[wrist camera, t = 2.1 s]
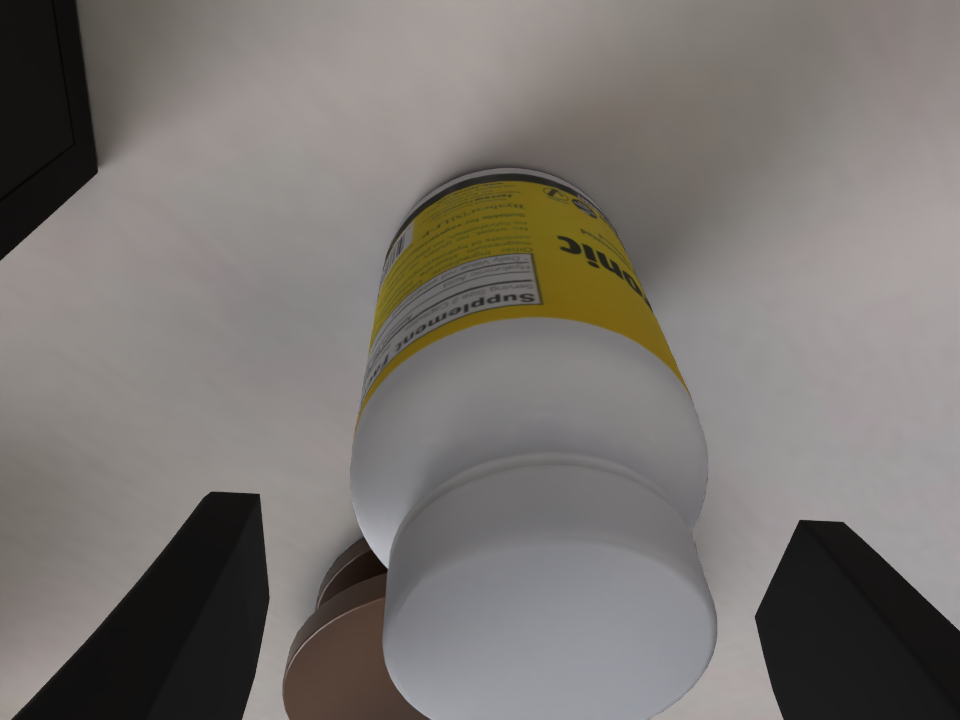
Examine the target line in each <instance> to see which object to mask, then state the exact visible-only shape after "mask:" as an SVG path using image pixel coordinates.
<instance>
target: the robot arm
mask: <svg viewBox="0 0 960 720" xmlns="http://www.w3.org/2000/svg"><path fill="white" fill-rule="evenodd" d="M269 599H270V597H269V586H268V576H267V565H266V555H265V544H264V534H263V523H262V513H261V502H260V494H251V493H231V492H210V493H209V494H208V495H206V496H205V497H204V498H203V499H202V500H201V502H200V503H199V504H198V506H197V507H196V508H195V510H194V511H193V512H192V514H191V515H190V516H189V518H188V519H187V520H186V522H185V523H184V524H183V525H182V527H181V528H180V529H179V531H178V532H177V533H176V535H175V536H174V537H173V538H172V540H171V541H170V542H169V544H168V545H167V546H166V547H165V549H164V550H163V551H162V552H161V554H160V555H159V556H158V557H157V559H156V560H155V561H154V562H153V563H152V565H151V566H150V567H149V568H148V570H147V571H146V572H145V573H144V574H143V576H142V577H141V578H140V579H139V581H138V582H137V583H136V584H135V585H134V586H133V588H132V589H131V590H130V591H129V592H128V593H127V595H126V596H125V597H124V598H123V599H122V600H121V602H120V603H119V604H118V605H117V606H116V607H115V608H114V610H113V611H112V612H111V613H110V614H109V615H108V617H107V618H106V619H105V620H104V621H103V622H102V624H101V625H100V626H99V627H98V628H97V629H96V631H95V632H94V633H93V634H92V635H91V636H90V637H89V638H88V639H87V641H86V642H85V643H84V644H83V645H82V646H81V647H80V648H79V649H78V650H77V651H76V652H75V653H74V655H73V656H72V657H71V658H70V659H69V660H68V661H67V662H66V663H65V664H64V665H63V666H62V667H61V668H60V669H59V670H58V672H57V673H56V674H55V675H54V676H53V677H52V678H51V679H50V680H49V681H48V682H47V683H46V684H45V685H44V686H43V687H42V688H41V690H40V691H39V692H38V693H37V694H36V695H35V696H34V697H33V698H32V699H31V700H30V701H29V702H28V703H27V704H26V705H25V706H24V707H23V708H22V709H21V710H20V711H19V712H18V713H17V714H16V715H15V716H14V717H13V718H12V719H11V720H242V718H243V714H244V711H245V708H246V704H247V701H248V697H249V694H250V691H251V687H252V684H253V680H254V677H255V673H256V668H257V663H258V658H259V653H260V648H261V643H262V637H263V632H264V626H265V621H266V615H267V610H268V604H269ZM755 620H756V624H757V629H758V633H759V637H760V642H761V646H762V650H763V655H764V659H765V662H766V666H767V670H768V674H769V677H770V681H771V685H772V689H773V692H774V695H775V697H776V700H777V703H778V706H779V708H780V711H781V714H782V716H783V719H784V720H960V631H959V630H958V629H957V628H956V627H955V626H954V625H953V624H952V623H950V622H949V621H948V620H947V619H946V618H945V617H944V616H943V615H942V614H941V613H940V612H939V611H938V610H937V609H936V608H935V607H934V606H932V605H931V604H930V603H929V602H928V601H927V600H926V599H925V598H924V597H923V596H922V595H921V594H920V593H919V592H918V591H917V590H916V589H915V588H914V587H912V586H911V585H910V584H909V583H908V582H907V581H906V580H905V579H904V578H903V577H902V576H901V575H900V574H899V573H898V572H897V571H896V570H895V569H894V568H893V567H891V566H890V565H889V564H888V563H887V562H886V561H885V560H884V559H883V558H882V557H881V556H880V555H879V554H878V553H877V552H876V551H875V550H873V549H872V548H871V547H870V546H869V545H868V544H867V543H866V542H865V541H864V540H863V539H862V538H860V537H859V536H858V535H857V534H856V533H855V532H854V531H853V530H852V529H850V528H849V527H848V526H847V525H846V524H845V523H844V522H833V521H812V520H799V523H798V525H797V527H796V529H795V531H794V533H793V535H792V538H791V540H790V542H789V544H788V546H787V548H786V550H785V553H784V555H783V557H782V559H781V561H780V563H779V565H778V568H777V570H776V572H775V574H774V576H773V578H772V580H771V583H770V585H769V587H768V589H767V591H766V593H765V595H764V598H763V600H762V602H761V604H760V606H759V608H758V610H757V613H756V615H755Z"/></svg>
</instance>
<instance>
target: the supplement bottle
mask: <svg viewBox="0 0 960 720" xmlns="http://www.w3.org/2000/svg"><path fill="white" fill-rule="evenodd" d="M707 481H708V457H707V446H706V441H705V437H704V433H703V429H702V427H701V424H700V421H699V418H698V415H697V413H696V410H695V408H694V405H693V402H692V399H691V396H690V393H689V391H688V389H687V387H686V385H685V383H684V380H683V378H682V376H681V374H680V372H679V370H678V367H677V364H676V361H675V359H674V357H673V355H672V353H671V351H670V348H669V346H668V344H667V341H666V339H665V337H664V334H663V332H662V330H661V328H660V326H659V323H658V321H657V319H656V317H655V315H654V314H653V311H652V309H651V306H650V304H649V302H648V300H647V298H646V296H645V293H644V291H643V289H642V286H641V284H640V282H639V280H638V278H637V276H636V273H635V271H634V269H633V267H632V264H631V262H630V260H629V258H628V256H627V254H626V252H625V249H624V247H623V245H622V243H621V241H620V239H619V237H618V235H617V233H616V231H615V229H614V228H613V226H612V224H611V223H610V221H609V220H608V218H607V217H606V215H605V214H604V212H603V211H602V210H601V209H600V208H599V207H598V206H597V205H596V204H595V202H594V201H592V200H591V199H590V198H589V197H588V196H587V195H585V194H584V193H583V192H581V191H580V190H579V189H577V188H576V187H574V186H572V185H571V184H569V183H568V182H566V181H563V180H561V179H559V178H557V177H555V176H552V175H549V174H546V173H542V172H539V171H534V170H528V169H520V168H497V169H490V170H484V171H478V172H474V173H471V174H467V175H464V176H461V177H459V178H456V179H454V180H452V181H450V182H448V183H446V184H444V185H442V186H441V187H439V188H437V189H436V190H434V191H433V192H431V193H430V194H428V195H427V196H426V197H424V198H423V199H422V200H421V201H420V202H419V203H418V204H417V205H416V206H415V207H414V208H413V209H412V210H411V211H410V212H409V213H408V215H407V216H406V217H405V219H404V220H403V222H402V223H401V224H400V226H399V227H398V229H397V231H396V233H395V235H394V237H393V239H392V241H391V244H390V247H389V250H388V252H387V255H386V259H385V263H384V267H383V273H382V277H381V282H380V289H379V294H378V300H377V305H376V311H375V318H374V324H373V330H372V336H371V342H370V348H369V354H368V360H367V364H366V371H365V377H364V383H363V389H362V395H361V401H360V406H359V412H358V418H357V424H356V428H355V433H354V439H353V445H352V458H351V466H350V489H351V498H352V503H353V507H354V511H355V514H356V518H357V521H358V524H359V526H360V529H361V531H362V533H363V535H364V537H365V539H366V541H367V542H368V544H369V546H370V548H371V549H372V550H373V552H374V553H375V554H376V556H377V557H378V558H379V559H380V561H381V562H382V563H383V564H384V565H385V566H386V568H387V569H388V572H387V584H386V599H385V612H384V625H383V637H382V644H383V653H384V659H385V664H386V667H387V670H388V672H389V675H390V677H391V679H392V681H393V683H394V685H395V686H396V688H397V689H398V690H399V692H400V693H401V694H402V695H403V697H404V698H405V699H406V700H407V701H408V702H409V703H410V704H411V705H412V706H413V707H414V708H416V709H417V710H418V711H419V712H421V713H422V714H423V715H425V716H426V717H428V718H430V719H431V720H648V719H650V718H652V717H654V716H656V715H658V714H660V713H662V712H663V711H664V710H666V709H667V708H669V707H670V706H672V705H673V704H674V703H676V702H677V701H678V700H680V699H681V698H682V697H683V696H684V695H685V694H686V693H687V692H688V691H689V690H690V689H691V688H692V687H693V686H694V685H695V683H696V682H697V681H698V680H699V678H700V677H701V676H702V674H703V673H704V671H705V670H706V668H707V667H708V664H709V662H710V660H711V658H712V655H713V653H714V649H715V645H716V639H717V616H716V610H715V606H714V602H713V599H712V596H711V593H710V590H709V588H708V585H707V582H706V579H705V576H704V573H703V570H702V567H701V564H700V561H699V558H698V554H697V549H696V545H695V542H694V540H693V537H692V535H691V533H690V532H691V530H692V528H693V527H694V525H695V523H696V520H697V518H698V516H699V513H700V510H701V508H702V504H703V501H704V497H705V493H706V485H707Z"/></svg>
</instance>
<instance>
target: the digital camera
mask: <svg viewBox="0 0 960 720" xmlns="http://www.w3.org/2000/svg"><path fill="white" fill-rule="evenodd" d="M97 173H98V169H97V162H96V155H95V147H94V140H93V133H92V125H91V118H90V111H89V103H88V96H87V88H86V81H85V74H84V66H83V59H82V52H81V44H80V37H79V30H78V22H77V15H76V7H75V0H0V261H1V260H2V259H3V258H4V257H5V256H6V255H7V254H8V253H9V252H10V251H12V250H13V249H14V248H15V247H16V246H17V245H18V244H19V243H20V242H22V241H23V240H24V239H25V238H26V237H27V236H28V235H29V234H30V233H32V232H33V231H34V230H35V229H36V228H37V227H38V226H39V225H40V224H42V223H43V222H44V221H45V220H46V219H47V218H48V217H49V216H50V215H51V214H53V213H54V212H55V211H56V210H57V209H58V208H59V207H60V206H61V205H63V204H64V203H65V202H66V201H67V200H68V199H69V198H70V197H71V196H73V195H74V194H75V193H76V192H77V191H78V190H79V189H80V188H81V187H82V186H84V185H85V184H86V183H87V182H88V181H89V180H90V179H91V178H92V177H94V176H95V175H96V174H97Z"/></svg>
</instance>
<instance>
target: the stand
mask: <svg viewBox="0 0 960 720" xmlns="http://www.w3.org/2000/svg"><path fill="white" fill-rule="evenodd" d="M387 572H388V569H387V568H386V566H385V565H384V564H383V563H382V562H381V561H380V559H379V558H378V557H377V556H376V554H375V553H374V552H373V550H372V549H371V548H370V546H369V544H368V542H367V541H366V539H365V538H363V539H362V540H360V541H359V542H357V543H356V544H355V545H353V546H352V547H351V548H349V549H348V550H347V551H346V552H345V553H344V554H343V555H342V556H341V557H340V558H339V559H337V560H336V562H335V563H334V564H333V566H332V567H331V568H330V570H329V571H328V572H327V574H326V576H325V578H324V580H323V582H322V584H321V586H320V590H319V594H318V597H317V603H316V608H315V612H314V613H313V614H312V615H311V616H310V617H309V618H308V619H307V621H306V622H305V623H304V625H303V626H302V627H301V629H300V630H299V631H298V633H297V635H296V637H295V639H294V641H293V643H292V645H291V648H290V652H289V656H288V659H287V664H286V669H285V674H284V678H283V693H282V696H283V701H284V706H285V710H286V713H287V715H288V717H289V719H290V720H431V719H430V718H428V717H426V716H425V715H423V714H422V713H421V712H419V711H418V710H417V709H416V708H414V707H413V706H412V705H411V704H410V703H409V702H408V701H407V700H406V699H405V698H404V697H403V695H402V694H401V693H400V692H399V690H398V689H397V688H396V686H395V685H394V683H393V681H392V679H391V677H390V675H389V672H388V670H387V667H386V664H385V659H384V653H383V644H382V637H383V625H384V612H385V599H386V584H387Z"/></svg>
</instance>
